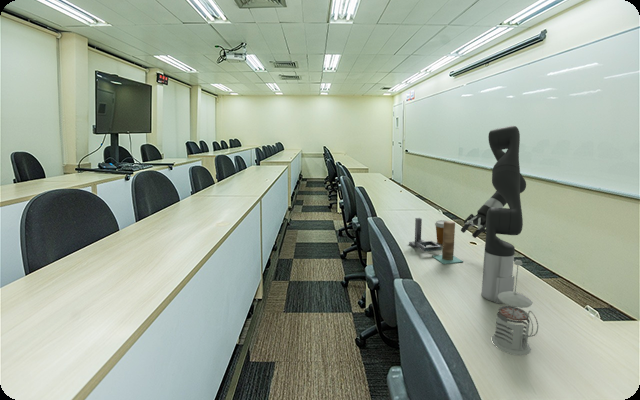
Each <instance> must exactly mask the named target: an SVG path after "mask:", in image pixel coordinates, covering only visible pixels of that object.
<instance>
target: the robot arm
mask: <svg viewBox="0 0 640 400" xmlns="http://www.w3.org/2000/svg"><path fill="white" fill-rule="evenodd" d="M520 135H521V134H520V130H519V128H518V127H517V126H516V125H509V126H504V127H498V128H493V129H491V130H490V131H489V133H488V144H489V147H490V150H491V152H492V154H493V156H494V157H495V158H494V159H496V163H495V164H494V165H493V167H492V170H491V172H492V173H491V185H492V186H493V188H494V189H495V192H494V193H493V194H492V195H491V196H490V198H488V199H487V201H485V202H484V203H483V205H481V207H480V208H479V209H478V210H477V211H476V213H477V214H475V215H474V214H473V213H470V214H469V216H467V217H466V218H465V219H464V220H463V223H464V225H463V226H462V227H461V229H460V231H461V232H462V233H465V232H466V231H467V230H469V228H470V227H474V226H477V229H475V231H474V232H473V233H472V234H471V237H472V238H474V239H477V238H478V237H479V235H481V234H482V233H485V243H484V244H485V245H484V253H483V268H482V280H481V281H482V282H481V296H482V298H484V299H486V300H488V301H491V302H493V303H495V304H504V303H503V302H501V301H500V300H499V298H498V294H499V293H502V292H508V291H513V292H514V290H515V279H516V277H515V276H514V275H513V271H514V261H515V253H516V249H515V246H514V245H513V244H511V243H510V242H508V241H505V240H503V239H502V238H499V237H498V236H497V235H507V236H519V235H520V234H521V232H522V230H523V227H524V224H523V223H524V221H523V220H524V218H523V211H522V203H521V201H522V200H521V194H522V193H523V192H525V191H526V188H527V181H526V179H525V177H524V176H523V175H522V173H521V169H520V142H521V138H520ZM503 150H506V151H503ZM506 204H507V206H508V207H507V208H506V207H505V205H506Z"/></svg>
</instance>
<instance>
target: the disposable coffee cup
mask: <svg viewBox="0 0 640 400" xmlns="http://www.w3.org/2000/svg"><path fill="white" fill-rule="evenodd" d="M445 221H446V220H442V219H441V220H436V221H435V223H434V226H435V233H436V244H438V245H443V228H444V222H445Z"/></svg>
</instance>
